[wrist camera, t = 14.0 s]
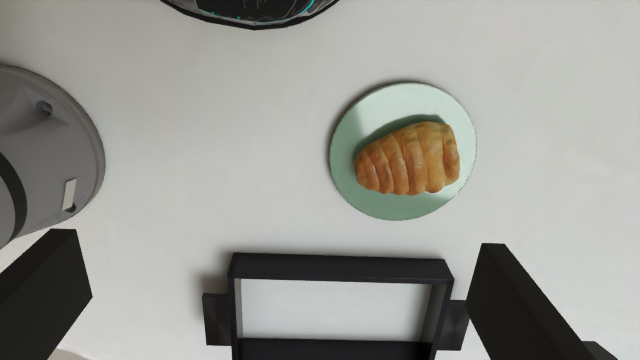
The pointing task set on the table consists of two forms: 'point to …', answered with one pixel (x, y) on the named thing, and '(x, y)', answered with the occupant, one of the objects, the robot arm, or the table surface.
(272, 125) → the table surface
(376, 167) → the pastry
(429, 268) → the pan
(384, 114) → the plate
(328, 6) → the black domed oval piece
